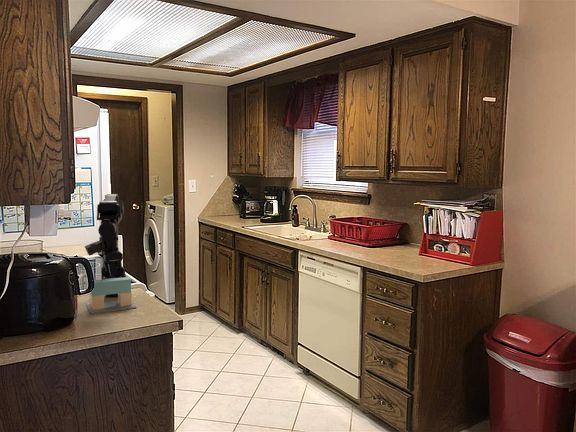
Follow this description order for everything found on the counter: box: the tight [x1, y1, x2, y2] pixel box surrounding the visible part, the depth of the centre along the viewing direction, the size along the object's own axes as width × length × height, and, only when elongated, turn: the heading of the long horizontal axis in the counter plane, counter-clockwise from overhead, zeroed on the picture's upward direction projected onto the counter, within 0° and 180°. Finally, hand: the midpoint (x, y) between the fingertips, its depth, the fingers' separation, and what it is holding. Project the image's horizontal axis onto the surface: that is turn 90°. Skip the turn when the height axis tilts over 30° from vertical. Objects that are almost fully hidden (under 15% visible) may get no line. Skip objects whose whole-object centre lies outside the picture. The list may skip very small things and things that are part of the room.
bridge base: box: [86, 291, 137, 315], centre depth 185 cm, size 12×16×6 cm
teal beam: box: [90, 276, 132, 296], centre depth 185 cm, size 4×14×5 cm, turn 120°
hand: (110, 274), depth 186 cm, fingers open, 9 cm apart
